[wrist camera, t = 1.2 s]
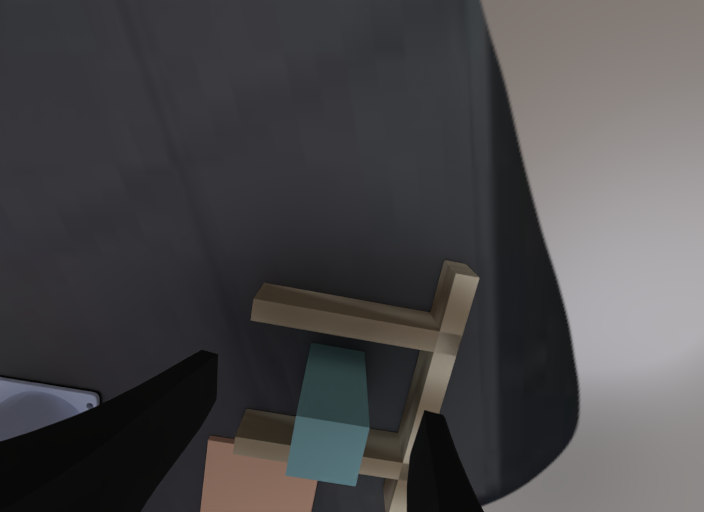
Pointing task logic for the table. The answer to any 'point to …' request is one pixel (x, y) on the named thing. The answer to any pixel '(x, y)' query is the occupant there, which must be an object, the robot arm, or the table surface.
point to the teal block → (331, 417)
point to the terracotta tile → (251, 483)
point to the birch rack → (377, 326)
